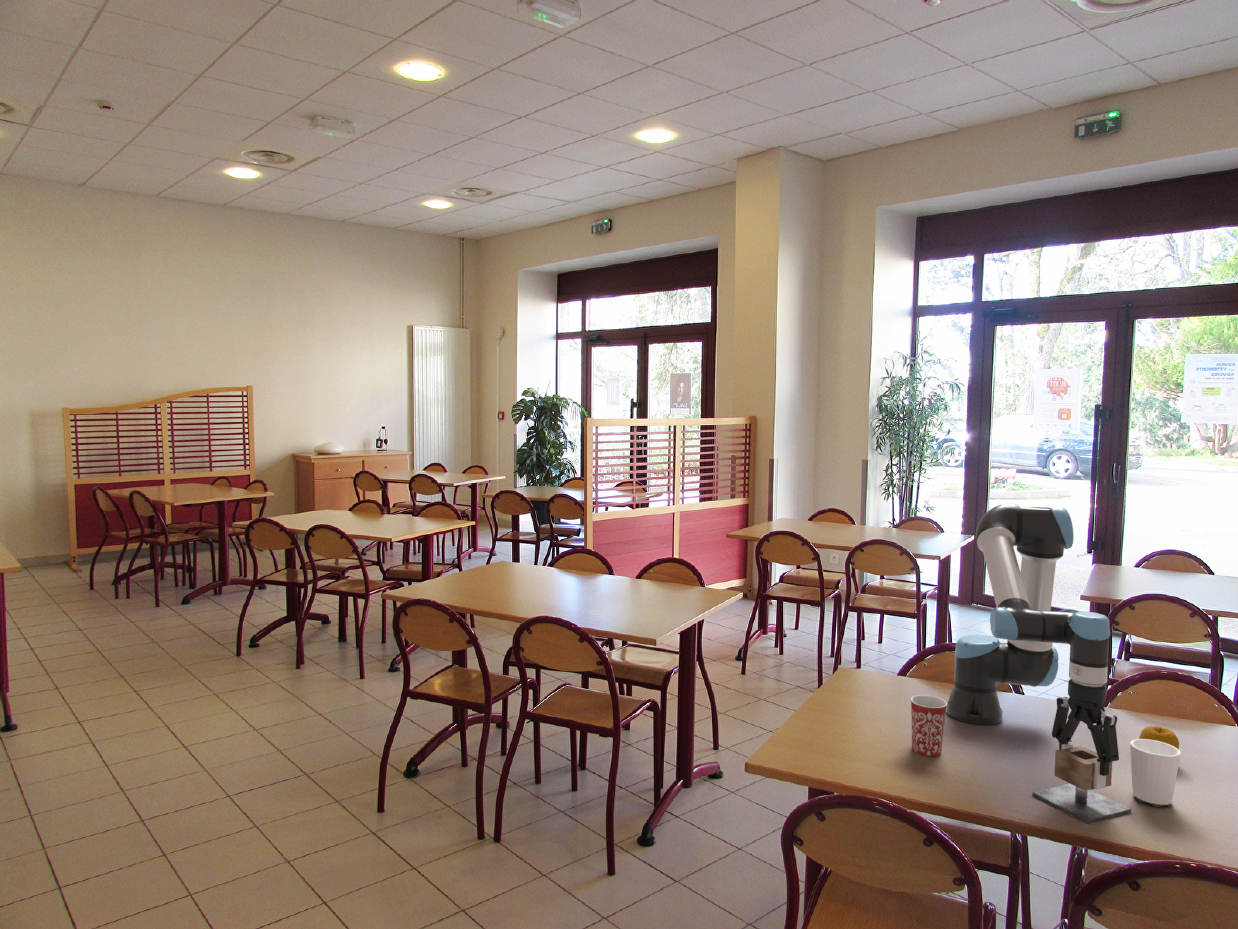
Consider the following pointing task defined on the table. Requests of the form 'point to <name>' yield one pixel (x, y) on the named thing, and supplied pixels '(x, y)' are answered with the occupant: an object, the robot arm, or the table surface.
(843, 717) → the table surface
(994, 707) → the robot arm
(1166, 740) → the apple
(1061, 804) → the peg base
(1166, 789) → the cup
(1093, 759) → the collar
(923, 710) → the mug
